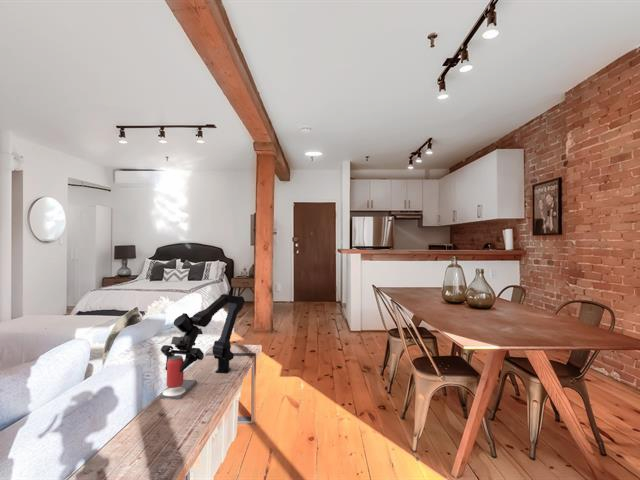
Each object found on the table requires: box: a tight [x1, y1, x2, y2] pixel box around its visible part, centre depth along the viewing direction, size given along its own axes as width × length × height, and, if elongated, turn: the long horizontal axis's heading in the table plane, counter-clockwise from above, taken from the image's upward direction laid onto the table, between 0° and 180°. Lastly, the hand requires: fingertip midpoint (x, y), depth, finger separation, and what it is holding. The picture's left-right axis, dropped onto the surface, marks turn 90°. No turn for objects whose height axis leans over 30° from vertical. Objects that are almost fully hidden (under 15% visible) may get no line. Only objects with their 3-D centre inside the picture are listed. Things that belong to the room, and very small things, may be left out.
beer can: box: [166, 354, 185, 388], centre depth 145 cm, size 7×7×12 cm
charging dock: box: [159, 378, 198, 400], centre depth 150 cm, size 18×9×2 cm, turn 179°
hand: (173, 370), depth 144 cm, fingers closed on beer can, 7 cm apart
